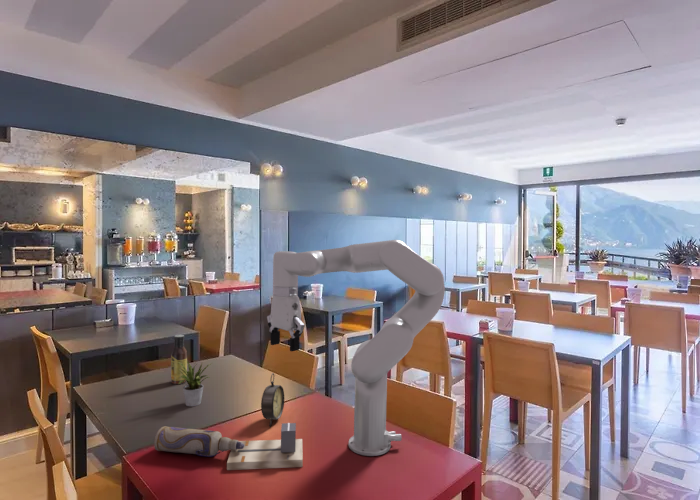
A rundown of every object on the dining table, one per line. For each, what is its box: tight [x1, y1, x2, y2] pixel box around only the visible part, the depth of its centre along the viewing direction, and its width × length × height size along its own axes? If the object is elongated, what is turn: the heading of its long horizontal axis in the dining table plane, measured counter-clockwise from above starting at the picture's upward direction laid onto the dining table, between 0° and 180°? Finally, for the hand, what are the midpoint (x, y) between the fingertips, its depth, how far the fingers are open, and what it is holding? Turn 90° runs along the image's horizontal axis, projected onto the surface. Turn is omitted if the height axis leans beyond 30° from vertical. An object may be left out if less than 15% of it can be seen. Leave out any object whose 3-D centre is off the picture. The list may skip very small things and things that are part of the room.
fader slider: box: [280, 422, 297, 453], centre depth 123 cm, size 4×5×6 cm
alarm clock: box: [260, 372, 285, 428], centre depth 146 cm, size 11×5×16 cm, turn 168°
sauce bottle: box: [170, 334, 188, 385], centre depth 182 cm, size 6×6×20 cm
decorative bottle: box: [153, 425, 244, 458], centre depth 123 cm, size 26×8×7 cm, turn 79°
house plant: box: [175, 360, 213, 407], centre depth 160 cm, size 14×14×16 cm
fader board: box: [226, 438, 304, 471], centre depth 123 cm, size 20×12×2 cm, turn 97°
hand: (284, 347), depth 133 cm, fingers open, 9 cm apart
